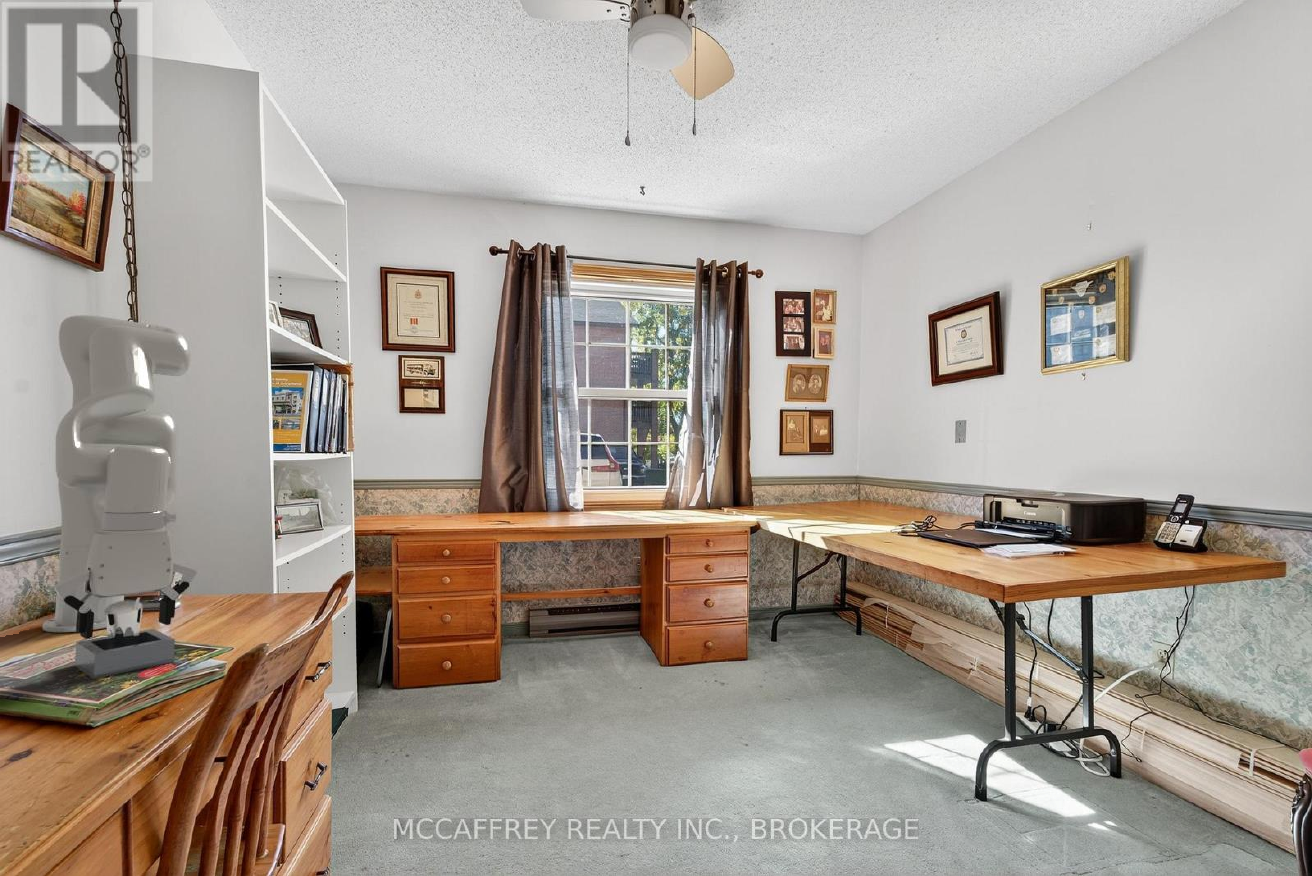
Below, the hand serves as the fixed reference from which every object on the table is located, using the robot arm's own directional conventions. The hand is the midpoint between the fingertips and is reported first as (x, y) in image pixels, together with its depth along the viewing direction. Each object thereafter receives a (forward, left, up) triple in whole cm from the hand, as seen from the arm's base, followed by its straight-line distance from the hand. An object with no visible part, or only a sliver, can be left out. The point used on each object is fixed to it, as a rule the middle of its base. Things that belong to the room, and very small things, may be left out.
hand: (127, 630), depth 94 cm
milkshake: (0, 0, -5) cm, 5 cm away
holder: (0, 0, -5) cm, 5 cm away
